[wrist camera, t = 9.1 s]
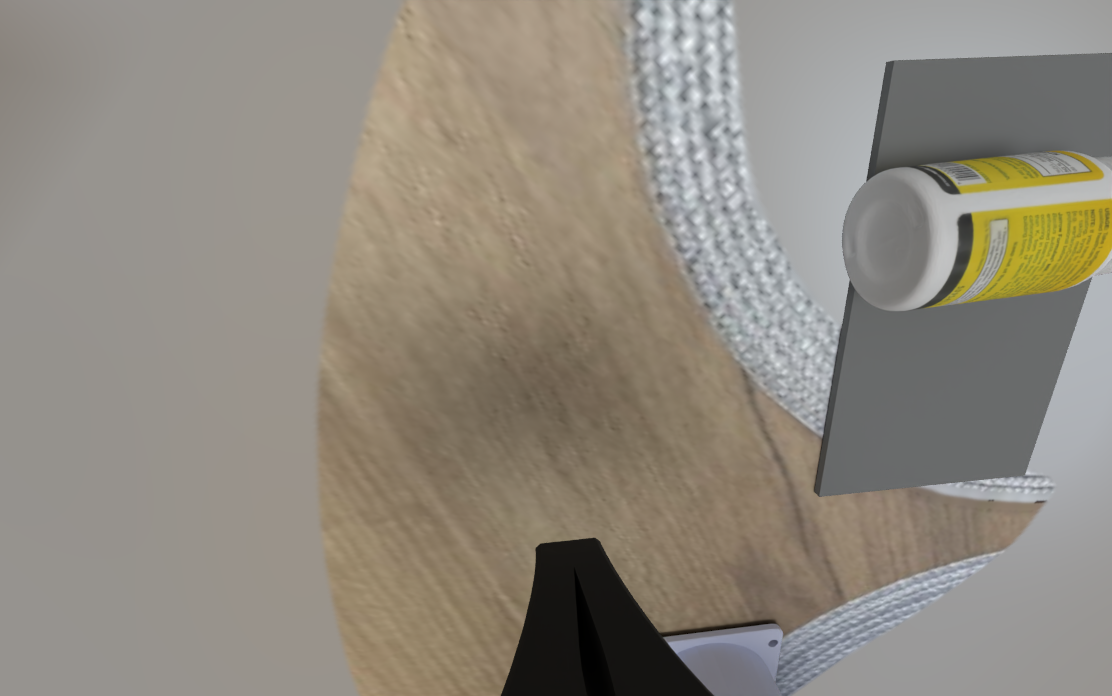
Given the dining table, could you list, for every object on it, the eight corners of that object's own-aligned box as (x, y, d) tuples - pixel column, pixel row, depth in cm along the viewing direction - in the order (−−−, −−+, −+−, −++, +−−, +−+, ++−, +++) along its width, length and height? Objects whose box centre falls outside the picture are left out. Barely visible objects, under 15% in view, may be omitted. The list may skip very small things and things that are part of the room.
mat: (1017, 470, 26) (1024, 475, 25) (814, 491, 25) (819, 496, 25) (1156, 52, 19) (1169, 51, 19) (886, 62, 18) (894, 60, 18)
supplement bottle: (859, 330, 19) (1071, 305, 20) (957, 279, 15) (1228, 248, 15) (824, 215, 21) (1024, 194, 21) (904, 135, 16) (1156, 111, 17)
